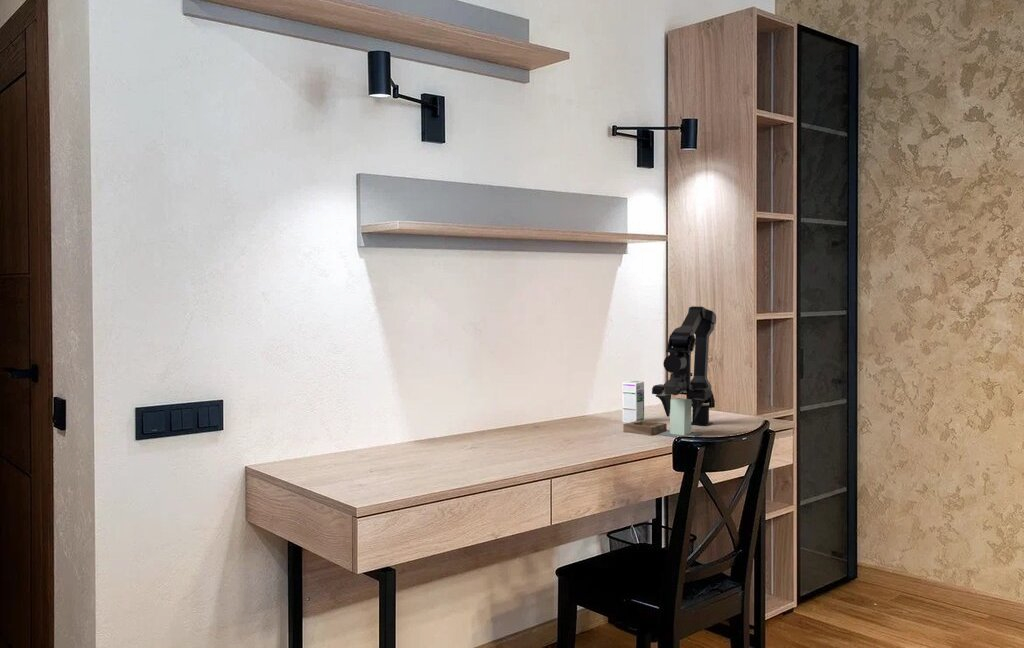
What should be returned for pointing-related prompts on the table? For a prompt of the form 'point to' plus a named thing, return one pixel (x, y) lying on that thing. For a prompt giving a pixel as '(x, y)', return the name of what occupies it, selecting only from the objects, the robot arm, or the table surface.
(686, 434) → the mat
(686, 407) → the sage block
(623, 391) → the syrup box
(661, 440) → the table surface
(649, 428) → the pocket block
